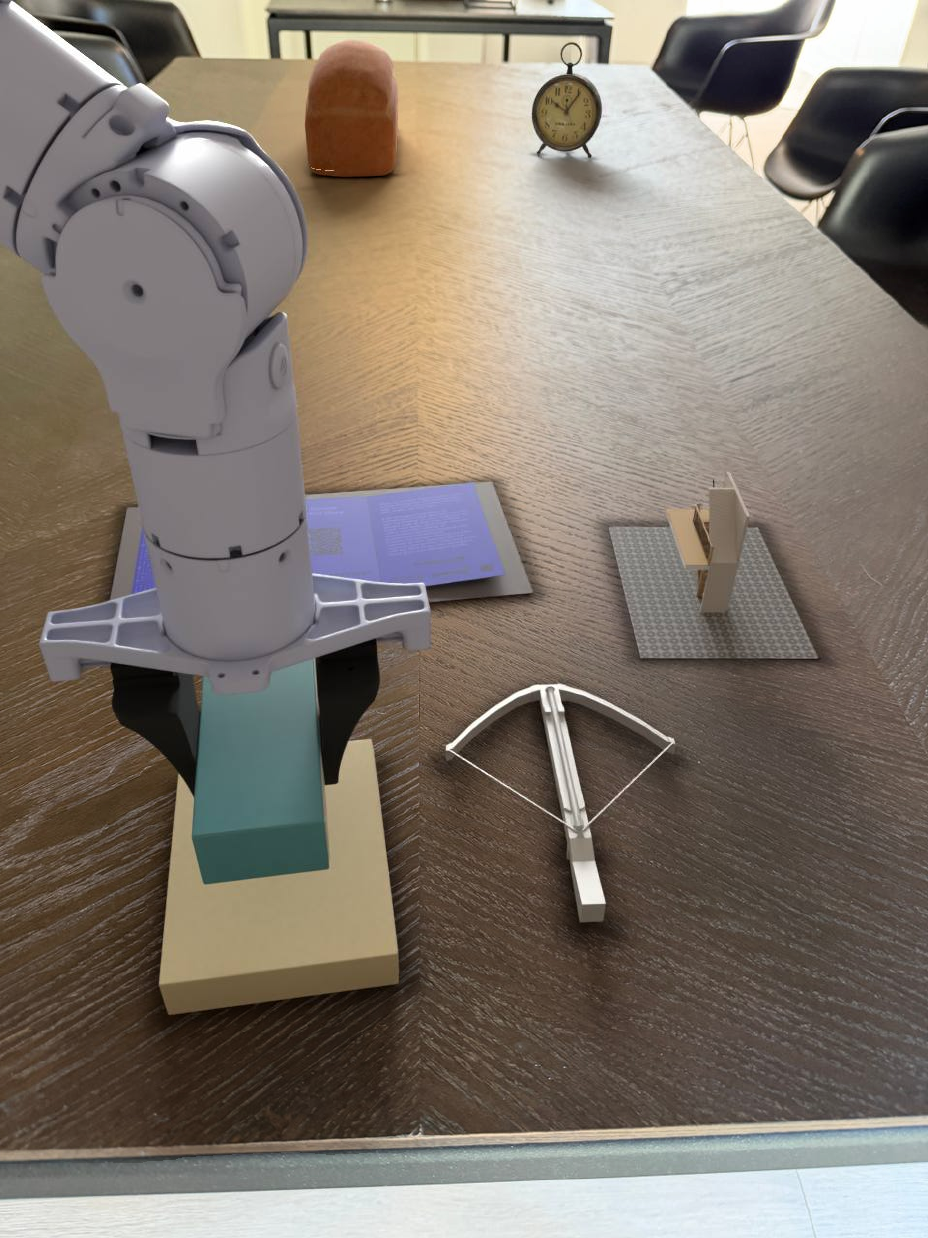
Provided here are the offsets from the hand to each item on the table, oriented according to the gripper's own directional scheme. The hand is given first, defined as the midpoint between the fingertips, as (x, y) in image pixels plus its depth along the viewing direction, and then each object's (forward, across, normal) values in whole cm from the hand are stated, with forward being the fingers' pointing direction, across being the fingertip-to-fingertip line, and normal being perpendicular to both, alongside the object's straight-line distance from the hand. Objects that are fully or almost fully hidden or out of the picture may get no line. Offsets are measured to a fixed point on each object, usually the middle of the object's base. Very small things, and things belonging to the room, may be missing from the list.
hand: (265, 774), depth 43 cm
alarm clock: (+8, +48, +138) cm, 146 cm away
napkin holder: (+7, +29, +20) cm, 36 cm away
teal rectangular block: (0, 0, 0) cm, 0 cm away
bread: (+8, +14, +143) cm, 144 cm away
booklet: (+7, +3, +28) cm, 29 cm away
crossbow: (+7, +15, +3) cm, 17 cm away
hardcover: (+8, 0, 0) cm, 8 cm away
